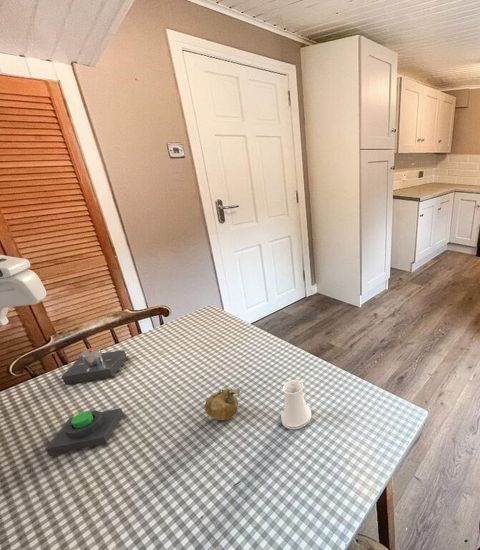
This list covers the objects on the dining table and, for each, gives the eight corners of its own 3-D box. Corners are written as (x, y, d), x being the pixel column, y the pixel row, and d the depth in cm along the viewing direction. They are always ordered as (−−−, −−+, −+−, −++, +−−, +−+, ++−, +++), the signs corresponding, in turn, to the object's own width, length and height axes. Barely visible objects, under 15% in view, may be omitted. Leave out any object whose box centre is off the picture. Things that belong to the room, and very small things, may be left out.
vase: (317, 412, 79) (314, 382, 76) (298, 434, 73) (294, 402, 69) (295, 402, 83) (291, 372, 79) (275, 422, 76) (270, 391, 73)
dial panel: (65, 384, 89) (61, 376, 88) (84, 363, 98) (80, 355, 97) (112, 377, 92) (109, 368, 91) (127, 357, 101) (124, 349, 100)
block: (49, 455, 68) (41, 443, 67) (72, 424, 76) (66, 412, 75) (106, 443, 71) (100, 431, 69) (123, 414, 79) (118, 402, 77)
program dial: (99, 365, 93) (94, 353, 91) (82, 368, 91) (77, 356, 90) (106, 356, 96) (102, 345, 95) (90, 359, 95) (85, 347, 94)
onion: (223, 400, 83) (217, 377, 80) (247, 408, 81) (242, 384, 78) (201, 421, 77) (194, 397, 74) (226, 430, 74) (220, 405, 71)
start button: (70, 430, 70) (67, 424, 69) (79, 418, 73) (76, 412, 73) (88, 426, 71) (86, 421, 70) (96, 415, 74) (94, 409, 74)
